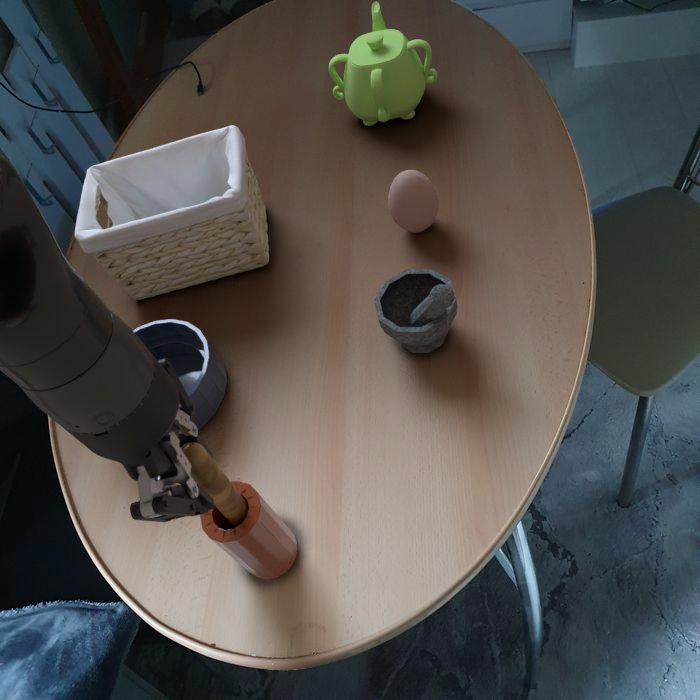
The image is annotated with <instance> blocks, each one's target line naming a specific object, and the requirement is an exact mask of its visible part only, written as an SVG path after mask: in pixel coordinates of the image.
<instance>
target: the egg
mask: <svg viewBox="0 0 700 700" xmlns="http://www.w3.org/2000/svg"><path fill="white" fill-rule="evenodd" d="M387 204H388V210H389V213H390V216H391V218H392V220H393V222H394V223H395V224H396V225H397V226H398V227H399V228H401V229H402V230H404V231H406V232H410V233H420V232H423V231H425V230H427V229H428V228H429V227H431V226H432V224H433V223H434V222H435V220H436V218H437V215H438V212H439V195H438V192H437V190H436V188H435V186H434V184H433V182H432V180H430V179H429V178H428V177H427V176H426V175H425V174H424V173H423V172H421V171H418V170H416V169H406V170H402V171H401V172H399V173H398V174H397V175H396V176H395V177H394V178H393V180H392V182H391V184H390V187H389V191H388V197H387Z"/></svg>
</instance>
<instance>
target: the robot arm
mask: <svg viewBox="0 0 700 700" xmlns="http://www.w3.org/2000/svg"><path fill="white" fill-rule="evenodd" d="M133 330H134V329H132V328H131V327H130V326H129V325H128V324H127V323H126V322H125V321H124V320H123V319H122V318H121V317H120V316H118V315H117V313H114V311H112V310H111V309H110V308H109V307H108V306H107V304H106V303H105V302H104V300H102V299H101V298H100V296H99V295H98V294H97V292H96V291H95V290H94V289H93V288H92V287H91V286H90V284H89V283H88V282H87V281H86V279H85V278H84V277H83V276H82V275H81V274H80V273H79V272H78V271H77V270H76V269H75V268H74V267H73V266H72V264H71V263H70V262H69V261H68V259H67V257H65V254H63V251H62V249H61V248H60V246H59V244H58V242H57V240H56V238H55V236H54V234H53V232H52V230H51V228H50V226H49V224H48V222H47V220H46V219H45V217H44V215H43V213H42V212H41V210H40V208H39V206H38V204H37V203H36V201H35V199H34V198H33V196H32V194H31V192H30V190H29V189H28V187H27V185H26V184H25V182H24V180H23V179H22V177H21V176H20V173H18V171H17V169H16V168H15V166H14V164H13V163H12V161H11V160H10V159H9V158H8V156H7V155H6V153H5V152H4V151H3V149H2V148H1V147H0V371H1V372H2V373H3V374H4V375H5V376H6V377H8V378H9V379H11V381H13V382H14V383H15V384H16V385H17V386H18V387H19V388H20V389H21V390H22V391H23V393H25V395H26V396H27V397H28V398H29V399H30V401H31V402H32V403H34V405H35V406H37V408H39V409H40V410H41V411H42V412H43V413H45V415H47V416H48V417H49V418H51V420H53V421H54V422H55V423H56V424H58V425H59V426H60V427H62V429H64V430H65V431H66V432H67V433H69V434H70V435H71V436H73V438H75V439H76V440H77V441H78V442H80V443H81V444H82V445H83V446H84V447H86V448H87V449H88V450H89V451H91V452H92V453H93V454H95V455H97V456H99V457H101V458H104V459H107V460H110V461H113V462H116V463H120V464H121V465H122V466H123V467H124V469H125V470H126V472H127V474H128V476H129V477H130V478H131V480H133V481H135V482H137V487H138V495H139V496H138V498H137V501H135V502H132V503H131V504H130V506H129V513H130V516H131V518H132V519H133V520H134V521H145V522H154V523H155V522H156V523H167V522H171V521H173V520H178V519H181V518H185V517H196V516H200V515H201V514H205V513H209V510H212V509H213V508H214V499H213V498H212V497H211V496H210V495H209V494H208V493H207V492H206V491H205V490H204V489H203V488H202V487H201V486H200V485H199V484H196V482H195V481H194V479H193V478H192V476H191V475H190V472H191V464H190V462H189V461H188V459H187V457H186V456H185V454H184V453H183V451H182V449H181V447H182V446H183V445H184V444H186V443H189V442H196V443H199V444H201V445H202V446H203V447H204V448H205V450H206V451H207V452H208V453H209V455H210V456H211V457H212V459H213V460H214V457H213V456H214V455H213V450H211V448H210V447H209V446H208V445H207V444H206V442H205V441H204V440H203V438H202V437H200V435H199V430H198V429H197V427H196V425H195V423H193V422H192V421H190V416H191V415H194V412H195V411H194V406H193V404H192V402H191V400H190V398H189V396H188V394H187V392H186V391H185V389H184V387H183V385H182V383H181V381H180V379H179V378H178V376H177V374H176V372H175V370H174V368H173V366H172V364H171V363H170V361H169V359H168V358H164V359H161V360H157V359H156V358H155V357H154V356H153V354H152V353H151V352H150V351H149V350H148V348H147V347H146V346H145V345H144V344H143V342H142V341H141V340H140V339H139V338H138V336H137V335H136V334H135V333H134V332H133ZM179 403H180V404H179ZM176 484H178V485H176ZM172 485H174V486H172Z"/></svg>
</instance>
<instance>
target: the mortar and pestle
mask: <svg viewBox="0 0 700 700" xmlns="http://www.w3.org/2000/svg"><path fill="white" fill-rule="evenodd" d="M373 301H374V307H375V311H376V316H377V320H378V324H379V326H380V328H381V330H382V331H383V332H384V333H385V334H386V335H387V336H389V337H391V338H392V339H393V340H395V341H397V342H398V343H400V345H401V347H403V348H405V349H406V350H408V351H409V352H410V353H413V354H429V353H431V352H432V351H434V350H436V349H438V348H439V347H442V346H443V344H444V341H445V339H446V338H447V335H448V333H449V330H450V328H451V326H452V325H453V322H454V320H455V319H456V316H457V314H458V301H457V296H456V293H455V290H454V287H453V284H452V281H451V279H450V278H448V277H446V276H444V275H442V274H440V273H439V272H437V271H435V270H434V269H432V268H417V269H415V268H414V269H413V268H412V269H405V270H403V271H401V272H399V273H398V274H396V275H393V276H392V277H390V278H388V279H386V280H385V281H383V284H382V285H381V287H380V289H379V291H378V293H377V294H376V296H375V298H374V300H373Z"/></svg>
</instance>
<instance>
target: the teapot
mask: <svg viewBox="0 0 700 700" xmlns="http://www.w3.org/2000/svg"><path fill="white" fill-rule="evenodd" d="M371 19H372V31H371V32H368V33H364V34H362V35H359V36H357V37H356V39H354V40H353V42H352V43H351V44H350V47H349V51H348V53H340V54H336V55H335V56H333V57H332V58H331V59H330V61H329V63H328V73H329V76H330V78H331V79H332V81H333V82H334V83H335V86H334V87H333V89H332V95H333V97H334V98H335V99H336V100H338V101H344V100H345V102H346V105H347V107H348V109H349V111H350V112H351V113H352V114H353V115H354V116H356V117H357V118H358V119H359V120H362V121H363V125H364V126H367V127H368V126H369V127H370V126H374V125H376V124H377V123H378V122H380V123H385V122H388V121H389V120H390V121H391V120H394V119H398V118H400V119H402V120H410V119H412V118H413V117H415V115H416V111H415V109H416V108H417V106H418V105H419V103H420V102H421V100H422V97H423V95H424V93H425V90H426V85H432V84H434V83H436V82H437V80H438V77H439V74H438V71H437V70H436V69H435V68H430V67H431V63H432V57H433V56H432V55H433V50H432V47H431V45H430V43H428V42H427V41H426V40H424V39H420V38H419V39H411V40H410V41H409V39H408V38H407V37H406V36H405V34H404V33H402V32H401V31H400V30H398V29H396V28H395V29H394V28H387V26H386V24H385V23H386V22H385V21H384V17H383V14H382V10H381V5H380V3H379V2H378V1H376V0H375V1H373V2H372V4H371ZM417 48H418V49H424V50H425V59H424V64H423V63H422V61H421V58H420V56H419V55H418V53H417V51H416V49H417ZM339 63H345V66H344V72H343V80H342V79H341V77H340V76H339V74H338V72H337V71H336V68H335V66H336V65H337V64H339ZM429 75H430V76H429ZM339 91H340V92H339Z"/></svg>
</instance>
